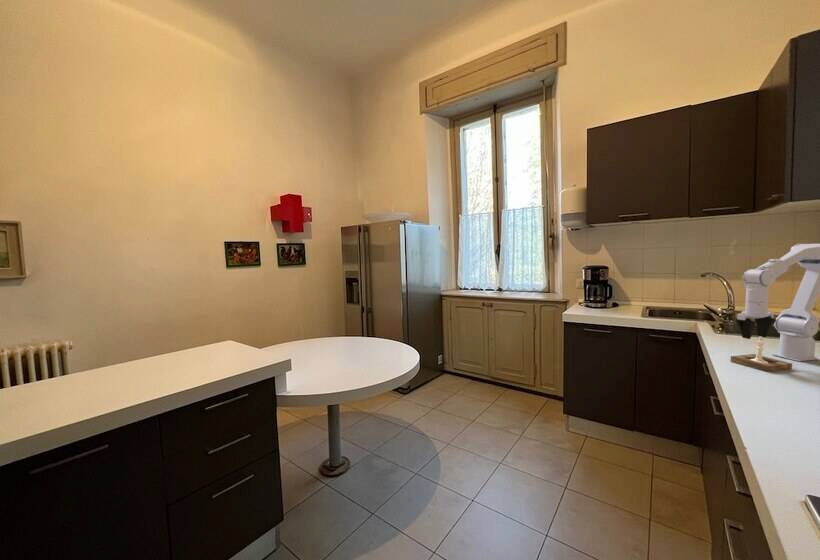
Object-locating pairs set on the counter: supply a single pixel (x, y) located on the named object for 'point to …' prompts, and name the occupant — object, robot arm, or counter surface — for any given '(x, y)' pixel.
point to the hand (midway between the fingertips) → (754, 337)
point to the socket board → (769, 367)
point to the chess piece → (759, 351)
